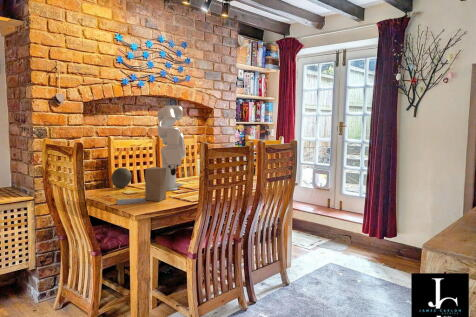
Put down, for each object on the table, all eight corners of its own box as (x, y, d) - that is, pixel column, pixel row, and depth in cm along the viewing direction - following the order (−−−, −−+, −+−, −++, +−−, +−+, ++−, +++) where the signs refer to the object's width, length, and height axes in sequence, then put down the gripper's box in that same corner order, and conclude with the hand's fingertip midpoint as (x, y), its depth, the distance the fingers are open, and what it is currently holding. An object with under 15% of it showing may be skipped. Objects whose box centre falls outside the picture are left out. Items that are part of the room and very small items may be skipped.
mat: (143, 198, 231) (143, 197, 231) (147, 202, 218) (147, 202, 218) (116, 200, 224) (116, 199, 224) (117, 205, 211) (117, 204, 211)
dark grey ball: (121, 190, 256) (120, 169, 254) (107, 188, 262) (106, 168, 261) (135, 187, 268) (135, 167, 267) (122, 185, 275) (121, 166, 273)
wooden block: (159, 201, 221) (160, 169, 219) (145, 200, 223) (144, 168, 221) (166, 198, 231) (166, 167, 229) (152, 197, 233) (152, 166, 231)
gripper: (182, 146, 234) (183, 173, 236) (159, 146, 228) (160, 175, 230) (185, 146, 227) (186, 175, 229) (162, 147, 221) (162, 176, 223)
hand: (173, 175), depth 229 cm, fingers closed
